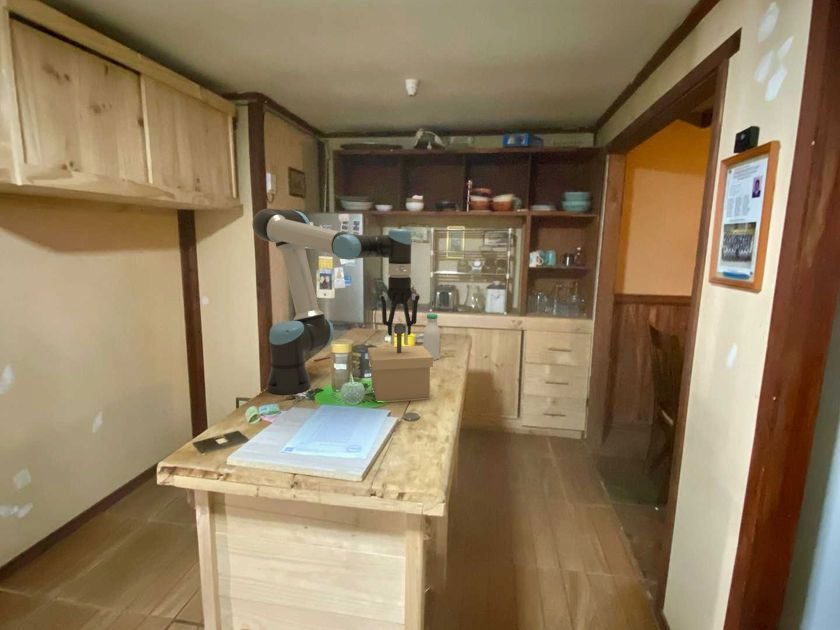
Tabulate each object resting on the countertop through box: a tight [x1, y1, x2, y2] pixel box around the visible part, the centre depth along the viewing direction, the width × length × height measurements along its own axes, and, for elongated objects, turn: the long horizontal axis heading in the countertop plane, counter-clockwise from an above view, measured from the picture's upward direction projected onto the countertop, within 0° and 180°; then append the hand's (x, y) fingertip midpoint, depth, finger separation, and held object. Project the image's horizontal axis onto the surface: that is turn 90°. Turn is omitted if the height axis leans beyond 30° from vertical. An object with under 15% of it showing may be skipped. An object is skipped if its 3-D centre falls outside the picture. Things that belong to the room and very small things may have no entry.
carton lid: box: [367, 322, 434, 370], centre depth 152 cm, size 20×16×14 cm
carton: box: [371, 367, 431, 403], centre depth 154 cm, size 18×14×12 cm
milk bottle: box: [422, 313, 441, 361], centre depth 198 cm, size 8×8×20 cm
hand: (399, 344), depth 152 cm, fingers closed on carton lid, 4 cm apart
